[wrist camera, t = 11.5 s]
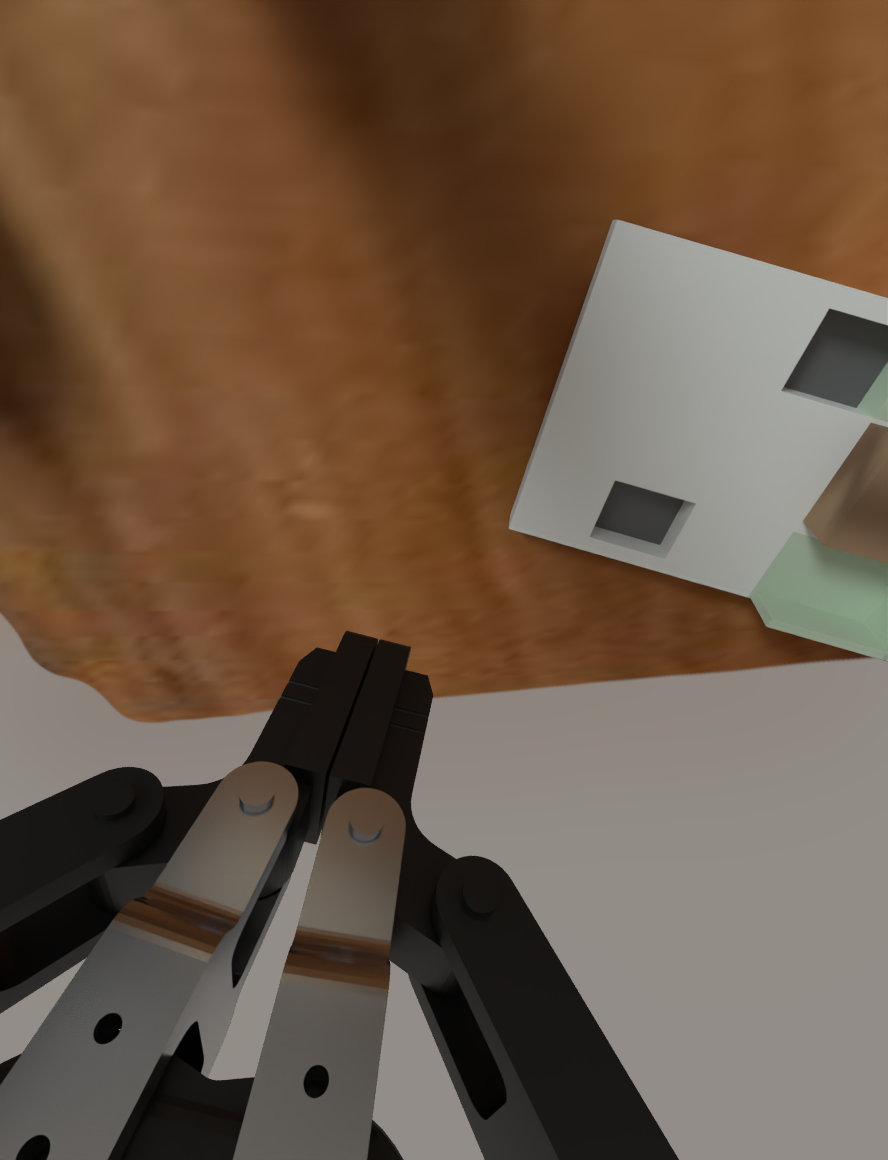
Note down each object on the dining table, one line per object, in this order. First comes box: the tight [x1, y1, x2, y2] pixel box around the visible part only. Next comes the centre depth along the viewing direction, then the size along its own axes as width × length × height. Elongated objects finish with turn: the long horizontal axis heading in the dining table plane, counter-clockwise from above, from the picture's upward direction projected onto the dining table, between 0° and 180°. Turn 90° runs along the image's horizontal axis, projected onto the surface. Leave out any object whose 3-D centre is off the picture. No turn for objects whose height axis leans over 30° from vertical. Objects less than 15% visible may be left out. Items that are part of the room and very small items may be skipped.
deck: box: [509, 220, 888, 661], centre depth 30 cm, size 17×24×5 cm
